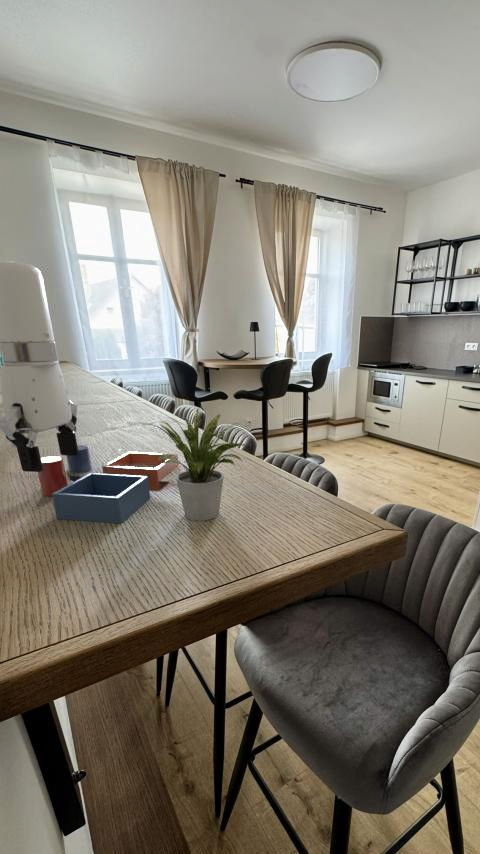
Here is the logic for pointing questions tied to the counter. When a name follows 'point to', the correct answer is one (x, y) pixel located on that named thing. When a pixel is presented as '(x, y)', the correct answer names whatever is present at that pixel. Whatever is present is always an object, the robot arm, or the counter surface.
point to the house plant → (200, 469)
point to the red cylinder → (52, 475)
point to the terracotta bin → (153, 474)
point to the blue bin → (101, 498)
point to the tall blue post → (79, 462)
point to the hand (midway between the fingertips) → (52, 462)
